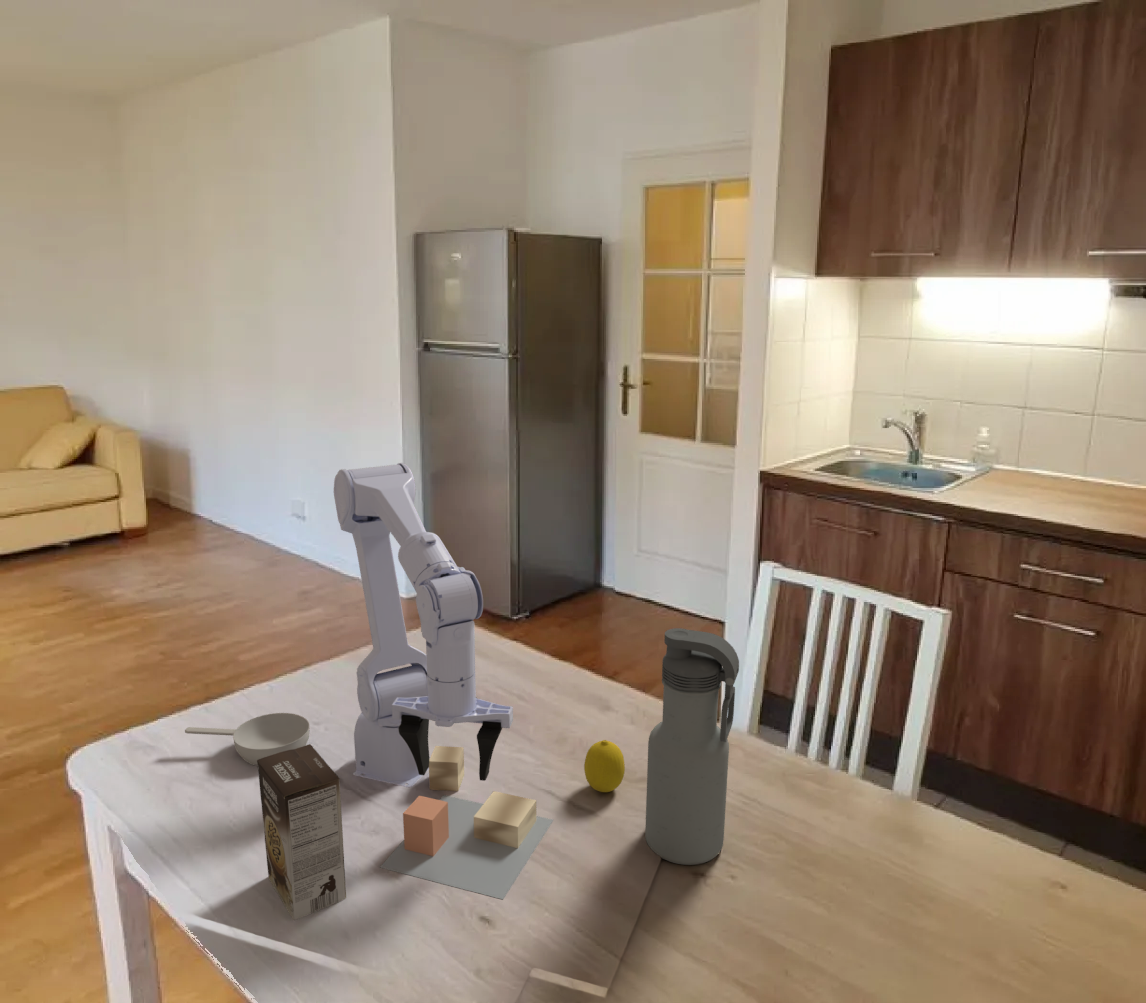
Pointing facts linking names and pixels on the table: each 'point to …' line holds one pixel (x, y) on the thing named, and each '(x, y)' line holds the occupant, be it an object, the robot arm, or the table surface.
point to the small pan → (264, 735)
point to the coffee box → (302, 829)
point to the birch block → (446, 768)
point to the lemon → (604, 766)
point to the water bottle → (691, 749)
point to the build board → (469, 855)
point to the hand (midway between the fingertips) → (454, 773)
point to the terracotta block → (426, 825)
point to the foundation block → (505, 819)
